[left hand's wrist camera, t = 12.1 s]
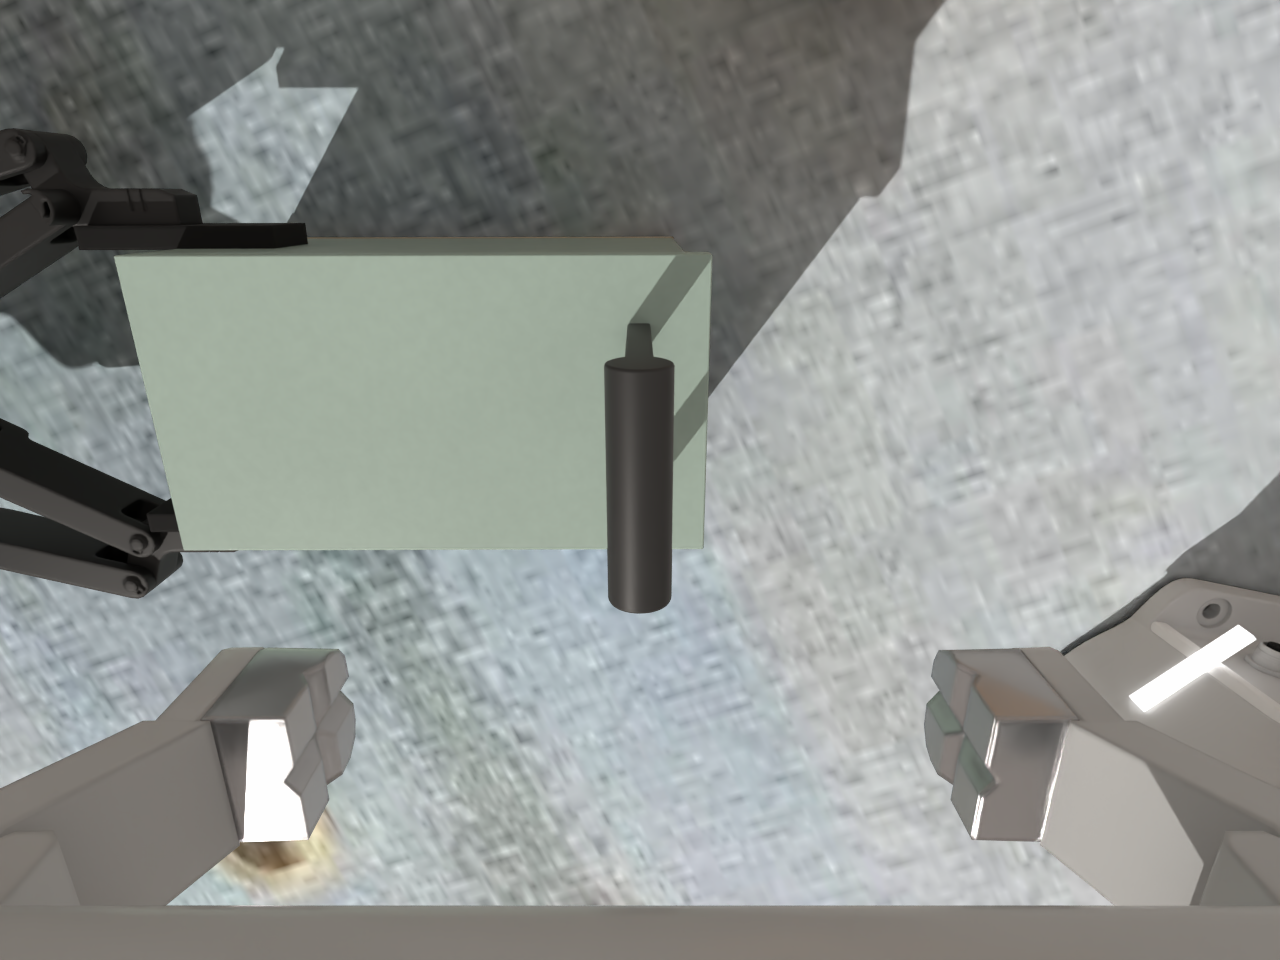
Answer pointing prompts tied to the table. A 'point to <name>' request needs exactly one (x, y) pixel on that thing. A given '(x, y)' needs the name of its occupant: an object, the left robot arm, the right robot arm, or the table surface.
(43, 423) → the table surface
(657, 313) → the lid
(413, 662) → the table surface
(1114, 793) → the left robot arm
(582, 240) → the chest
